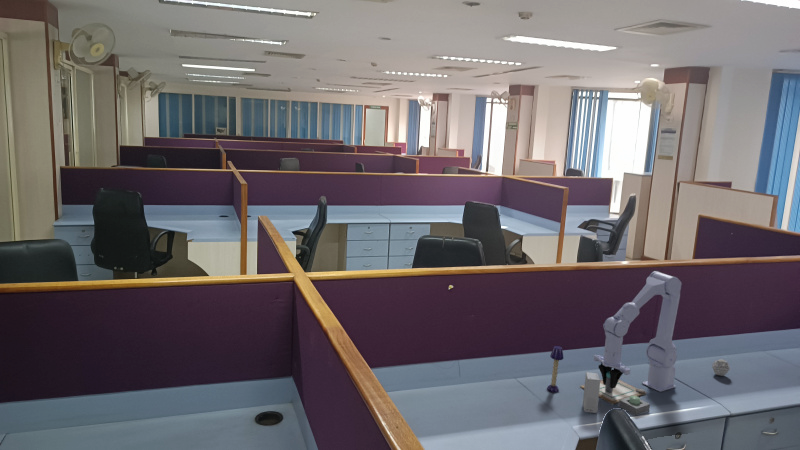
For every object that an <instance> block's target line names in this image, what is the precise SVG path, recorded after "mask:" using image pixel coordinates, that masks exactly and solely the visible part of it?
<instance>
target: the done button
mask: <svg viewBox="0 0 800 450" xmlns="http://www.w3.org/2000/svg"><path fill="white" fill-rule="evenodd" d="M640 400H641V398H640V396H638V397H637V396H630V399H629V403H631V404H633V405H635V406H636V405H639V404H640Z"/></svg>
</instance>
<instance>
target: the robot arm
mask: <svg viewBox="0 0 800 450" xmlns="http://www.w3.org/2000/svg"><path fill="white" fill-rule="evenodd" d="M682 284H683V283H682V282H681V280H680V279H679V278H678V277H677V276H672V275H669V274H666V273H663V272H660V271H658V270H654V271H652V272H651V273H650V274H649V276H647V278H646V281H645V285H644V286H643V287H642V289H640V291H639V292H638V294H637V295H636V296H635V297H634V298H633V299H632V301H631V302H625V303H624V304H623V305H622V306H621V308H619V310H617V312H616V313H615V314H614V315H613V316H611V317H608V318H606V319H605V321H604V323H603V325H602V327H603V329H604V335H605V343H604V352H603V355H599V354H595V355H593V361H595V362H598V363H600V364H599V365H598V369H599V371H600V375H601V380H603V384H604V385H606V374H607V372H608V371H609V372H610V378H611V381H610V388H616V385H617V382H618V380H620V378H621V377H622V376H623V374H624V375H625V376H628V375H629V376H630V375H631V368H629V367H627V366H626V365H624V364H623V363H622V361H621V360H622V359H621V358H622V351H623V349H622V348H623V341H624V336H625V335H626V334H627V333H628V330H629V328H630V326H631V323H632V322H634V320H635V319H636V318H637V317H638V316H639V315H640V309H641V308H642V307H643V306H644V305H646V303H647V302H649V301H650V299H653V298H654V296H658V295H660V296H661V297H662V303H661V307H660V308H661V309H660V312H659V313H660V314H659V317H658V324H657V328H656V333H655V334H656V335H655V337H654V338H652V339H650V340H649V342H648V345H647V347H646V349H645V350H646V352H645V356H646V357H647V358H648V360H647V361H648V362H649V366H648V375H647V380H646V381H643V382H641V383H642V385H644V386H647V387H648V388H651V389H653V390H656V391H658V392H660V393H661V392H665V391H668V390H671V389H674V388H676V385H675V384H674V383H675V377H676V368H675V364H676V362H677V357H678V355H677V347H676V345H675V344H674V342H673V341H672V340H673V335H674V329H675V323H676V319H677V314H678V309H679V305H680V299H681V289H682Z"/></svg>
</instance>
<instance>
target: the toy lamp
mask: <svg viewBox="0 0 800 450" xmlns="http://www.w3.org/2000/svg"><path fill="white" fill-rule="evenodd" d="M550 358H551V359H552V360H553V365H552V373H551V382H550V384H549V385H547V388H546V390H547V392H549V393H550V392H551V393H553V394H555V393H559V391H560V389H559V387H558V386H557V383H556V382H557V377H558V373H559V371H558V370H559V362H560V361H562V360H564V352H563V348H562V347H561V346H558V345H555V346H554V347H553V348H552V350H551V353H550Z"/></svg>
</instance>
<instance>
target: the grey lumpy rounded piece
mask: <svg viewBox="0 0 800 450" xmlns="http://www.w3.org/2000/svg"><path fill="white" fill-rule="evenodd" d="M711 368H712V371H713V373H714V374H715V375H716V376H720V377H723V376H725V375H727V374H728V372H729V371H730V365H729V363H728V361H727V360H725V359H721V358H719V359H718V360H715V361H714V362H713V363H712V367H711Z"/></svg>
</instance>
